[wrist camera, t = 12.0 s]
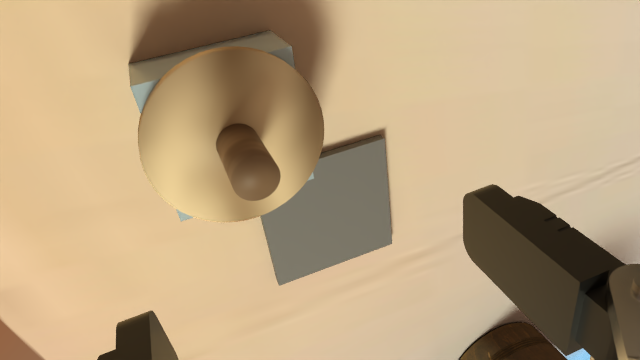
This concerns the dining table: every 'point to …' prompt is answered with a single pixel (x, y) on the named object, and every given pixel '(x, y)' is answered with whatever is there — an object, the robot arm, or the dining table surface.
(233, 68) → the lid
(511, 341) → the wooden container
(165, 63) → the pale blue open box
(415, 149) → the dining table surface
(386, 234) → the mat
